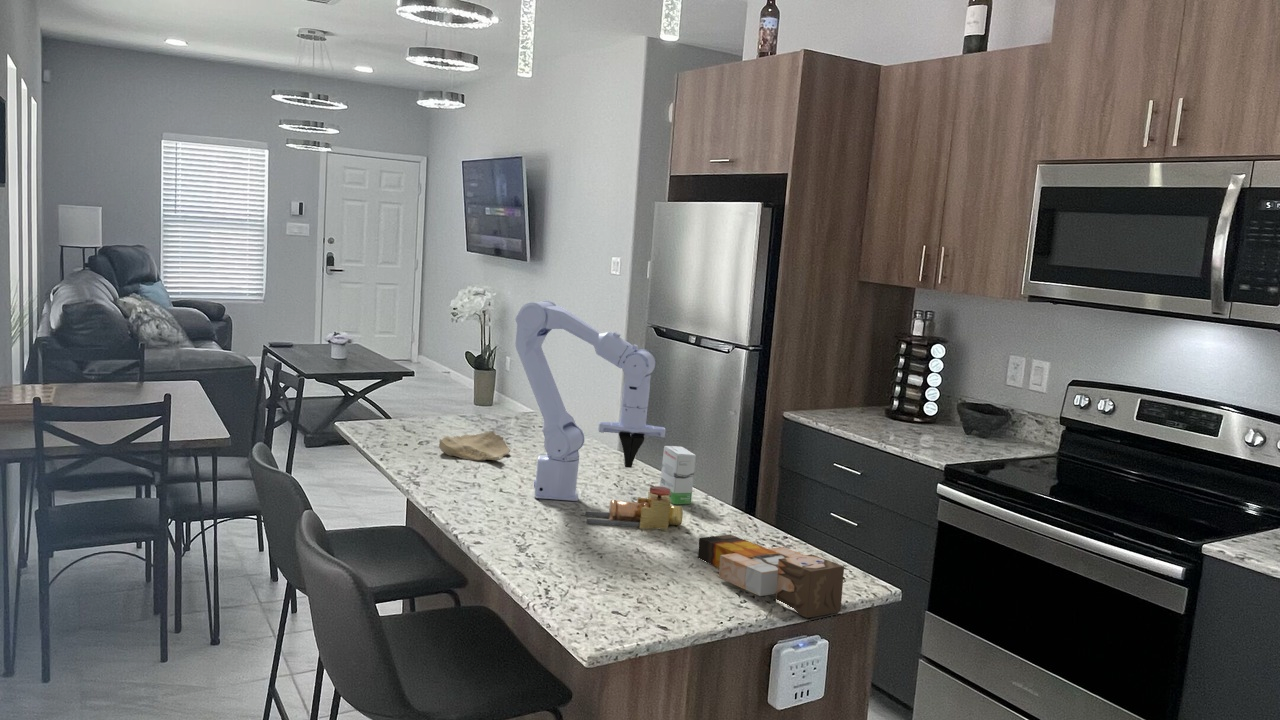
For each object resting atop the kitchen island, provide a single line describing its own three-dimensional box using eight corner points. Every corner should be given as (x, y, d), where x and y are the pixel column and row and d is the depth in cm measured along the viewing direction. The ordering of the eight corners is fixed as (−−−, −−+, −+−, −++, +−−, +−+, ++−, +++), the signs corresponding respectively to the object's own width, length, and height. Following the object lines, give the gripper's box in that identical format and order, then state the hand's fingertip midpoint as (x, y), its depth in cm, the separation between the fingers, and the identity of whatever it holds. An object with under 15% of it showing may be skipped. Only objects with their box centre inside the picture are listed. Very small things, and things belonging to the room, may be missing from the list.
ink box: (691, 504, 214) (697, 454, 213) (672, 504, 212) (678, 454, 211) (676, 493, 222) (682, 445, 221) (657, 493, 220) (663, 445, 219)
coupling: (610, 522, 193) (612, 501, 193) (608, 519, 198) (610, 498, 198) (648, 525, 194) (650, 503, 194) (645, 521, 199) (647, 501, 199)
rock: (522, 454, 244) (524, 438, 243) (498, 471, 230) (500, 453, 229) (461, 441, 249) (463, 425, 248) (434, 456, 234) (435, 439, 233)
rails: (586, 523, 192) (586, 518, 192) (584, 515, 198) (585, 510, 197) (639, 527, 194) (639, 522, 193) (636, 518, 199) (636, 514, 199)
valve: (639, 528, 193) (643, 493, 192) (635, 517, 200) (639, 482, 199) (682, 531, 194) (686, 496, 193) (676, 520, 201) (680, 485, 200)
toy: (745, 523, 185) (859, 563, 160) (742, 561, 185) (855, 608, 161) (683, 529, 176) (794, 573, 152) (681, 570, 177) (790, 621, 152)
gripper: (602, 406, 198) (596, 468, 200) (670, 412, 200) (663, 473, 202) (600, 400, 205) (594, 460, 207) (665, 405, 207) (658, 465, 209)
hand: (628, 466), depth 205 cm, fingers closed
